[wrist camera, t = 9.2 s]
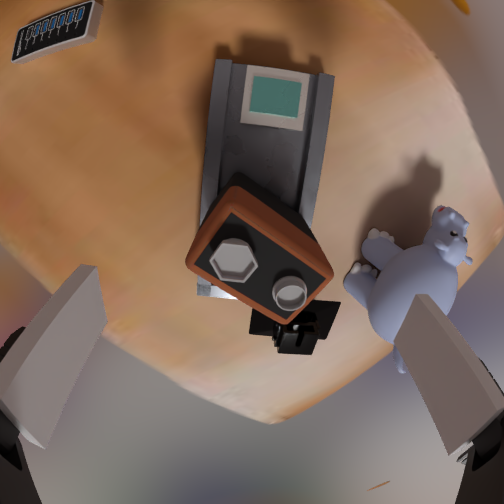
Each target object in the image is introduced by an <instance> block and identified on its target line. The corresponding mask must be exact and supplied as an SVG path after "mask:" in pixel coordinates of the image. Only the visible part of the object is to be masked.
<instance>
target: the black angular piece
mask: <svg viewBox="0 0 504 504" xmlns="http://www.w3.org/2000/svg"><path fill="white" fill-rule="evenodd" d="M340 304H341V302H335V301H321V300H312V301H311V302H310V303H309V304H308V305H307V306H306V307H305V308H304V309H303V310H302V311H301V312H300V313H299V314H298V315H297V316H296V317H295V318H294V319H293V320H292V321H290V322H289V323H288V324H281V323H279V322H277V321H275V320H273V319H271V318H269V317H268V316H266V315H264V314H262V313H261V312H259V311H257V310H255V309H254V308H252V315H251V322H250V329H249V334H253V335H264V336H272V340H273V341H274V347H277V352H278V353H283V354H302V355H312V353H313V350H314V348H315V345H316V342H317V340H318V339H323V340H325V339H326V338H327V336H328V333H329V331H330V329H331V326H332V324H333V322H334V319H335V317H336V314H337V312H338V309H339V307H340Z"/></svg>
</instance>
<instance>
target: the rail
mask: <svg viewBox="0 0 504 504" xmlns="http://www.w3.org/2000/svg"><path fill="white" fill-rule="evenodd" d="M334 78H335V76H333V75H329V74H324V73H318V74H317V75H313V74H308V73H303V72H297V71H292V70H286V69H279V68H272V67H264V66H256V65H246V64H234V63H233V61H232V60H226V59H216V62H215V69H214V76H213V83H212V91H211V99H210V108H209V117H208V126H207V136H206V146H205V157H204V169H203V182H202V196H201V212H200V225H201V223H202V221H203V219H204V217H205V215H206V213H207V211H208V209H209V208H210V206H211V205H212V203H213V202H214V200H215V199H216V198H217V196H218V195H219V193H220V192H221V191H222V189H223V188H224V186H225V185H226V184H227V182H228V181H229V180H230V178H231V177H232V176H233V174H234V173H236V172H242V173H243V174H245V175H246V176H248V177H249V178H251V179H252V180H253V181H255V182H256V183H258V184H259V185H260V186H262V187H263V188H265V189H266V190H267V191H269V192H270V193H271V194H273V195H274V196H276V197H277V198H278V199H280V200H281V201H282V202H284V203H285V204H286V205H288V206H289V207H290V208H292V209H293V210H294V211H296V212H297V213H298V214H300V215H301V216H302V217H303V218H304V219H305V221H306V223H307V224H308V226H309V228H310V229H311V224H312V219H313V213H314V208H315V203H316V197H317V192H318V186H319V181H320V175H321V169H322V163H323V157H324V151H325V144H326V138H327V131H328V124H329V117H330V110H331V102H332V95H333V86H334ZM197 295H200V296H209V297H219V298H229V299H237V298H235V297H233V296H232V295H230V294H228V293H227V292H225V291H223V290H222V289H220V288H218V287H217V286H215V285H213V284H212V283H210V282H208V281H207V280H205V279H204V278H202V277H200V276H199V275H198V282H197Z"/></svg>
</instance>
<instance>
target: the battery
mask: <svg viewBox="0 0 504 504" xmlns="http://www.w3.org/2000/svg"><path fill="white" fill-rule="evenodd" d="M185 263H186V266H187V268H188V269H190V270H191V271H192V272H194V273H196V274H197V275H199V276H200V277H202V278H204V279H205V280H207V281H208V282H210V283H212V284H213V285H215V286H217V287H218V288H220V289H222V290H223V291H225V292H227V293H228V294H230V295H232V296H233V297H235V298H237V299H238V300H240V301H242V302H243V303H245V304H247V305H249V306H250V307H252V308H254V309H255V310H257V311H259V312H261V313H262V314H264V315H266V316H268V317H269V318H271V319H273V320H275V321H277V322H279V323H281V324H288V323H289V322H290V321H292V320H293V319H294V318H295V317H296V316H297V315H298V314H299V313H300V312H301V311H302V310H303V309H304V308H305V307H306V306H307V305H308V304H309V303H310V302H311V301H312V300H313V299H314V298H315V296H316V295H317V294H318V293H319V292H320V291H321V290H322V289H323V288H324V287H325V286H326V285H327V284H328V283H329V282H330V281H331V280H332V278H333V277H334V272H333V269H332V267H331V265H330V263H329V262H328V260H327V258H326V256H325V254H324V253H323V251H322V249H321V247H320V245H319V244H318V242H317V240H316V238H315V237H314V235H313V233H312V231H311V230H310V228H309V226H308V224H307V223H306V221H305V219H304V218H303V217H302V216H301V215H300V214H298V213H297V212H296V211H294V210H293V209H292V208H290V207H289V206H288V205H286V204H285V203H284V202H282V201H281V200H280V199H278V198H277V197H276V196H274V195H273V194H271V193H270V192H269V191H267V190H266V189H265V188H263V187H262V186H260V185H259V184H258V183H256V182H255V181H253V180H252V179H251V178H249V177H248V176H246V175H245V174H243V173H242V172H236V173H234V174H233V176H232V177H231V178H230V180H229V181H228V182H227V184H226V185H225V186H224V188H223V189H222V191H221V192H220V193H219V195H218V196H217V198H216V199H215V200H214V202H213V203H212V205H211V206H210V208H209V209H208V211H207V213H206V215H205V217H204V219H203V221H202V223H201V225H200V228H199V230H198V232H197V234H196V236H195V239H194V241H193V243H192V245H191V248H190V250H189V252H188V254H187V257H186V260H185Z"/></svg>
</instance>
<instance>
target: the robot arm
mask: <svg viewBox="0 0 504 504" xmlns="http://www.w3.org/2000/svg"><path fill="white" fill-rule="evenodd" d="M107 322H108V321H107V317H106V312H105V307H104V303H103V298H102V293H101V287H100V282H99V276H98V270H97V266H91V265H84V264H81V265H80V266H79V267H78V268H77V269H76V270H75V271H74V272H73V273H72V274H71V276H70V277H69V278H68V279H67V280H66V281H65V282H64V283H63V284H62V285H61V287H60V288H59V289H58V290H57V291H56V292H55V293H54V294H53V296H52V297H51V298H50V299H49V300H48V302H47V303H46V304H45V305H44V306H43V307H42V309H41V310H40V311H39V312H38V313H37V315H36V316H35V317H34V318H33V320H32V321H31V322H30V323H29V325H28V326H27V327H21V328H19V329H18V330H16V331H15V332H14V333H12V334H11V335H10V337H9V338H8V339H7V340H6V342H5V343H4V346H3V347H1V349H0V504H42V502H41V500H40V498H39V496H38V493H37V490H36V488H35V485H34V482H33V480H32V477H31V474H30V471H29V468H28V465H27V462H26V459H25V456H24V452H23V448H22V445H21V443H20V440H19V438H18V435H19V433H20V432H21V434H22V435H23V436H24V437H25V438H26V439H27V440H28V441H30V442H32V443H34V444H36V445H38V446H39V447H41V448H44V449H47V446H48V444H49V441H50V439H51V436H52V433H53V431H54V429H55V426H56V424H57V422H58V419H59V417H60V415H61V412H62V410H63V407H64V406H65V403H66V401H67V399H68V397H69V395H70V393H71V390H72V388H73V386H74V384H75V382H76V380H77V378H78V376H79V374H80V372H81V370H82V368H83V366H84V364H85V362H86V360H87V358H88V356H89V354H90V353H91V351H92V349H93V347H94V345H95V343H96V341H97V340H98V338H99V336H100V334H101V332H102V331H103V329H104V327H105V325H106V324H107ZM393 342H394V344H395V346H396V347H397V349H398V351H399V353H400V355H401V357H402V358H403V360H404V362H405V364H406V366H407V368H408V370H409V372H410V374H411V375H412V377H413V379H414V381H415V383H416V385H417V387H418V389H419V391H420V393H421V395H422V397H423V399H424V401H425V404H426V405H427V408H428V410H429V412H430V414H431V416H432V418H433V421H434V423H435V425H436V427H437V429H438V431H439V434H440V436H441V438H442V441H443V443H444V446H445V448H446V450H447V453H448V455H451V454H454V453H456V452H458V451H460V450H462V449H463V448H464V447H465V446H467V445H468V444H469V443H470V442H471V441H472V442H473V444H474V445H473V446H471V447H470V448H469V449H468V450H467V451H465V452H464V453H463V454H462V455H460V457H458V459H457V462H460V461H461V460H462V459H463V458H465V457H466V456H467V458H465V459H464V460H463V461H462V462H461V463H462V464H464V465H466V466H465V470H464V474H463V478H462V482H461V485H460V489H459V492H458V495H457V498H456V502H455V504H504V393H503V391H502V390H501V388H500V387H499V385H498V384H497V382H496V381H495V379H493V376H492V375H491V373H490V372H488V369H487V367H486V366H485V364H484V363H483V361H482V360H480V359H479V358H478V357H477V356H476V354H475V353H474V351H473V350H472V349H471V347H470V346H469V345H468V343H467V342H466V341H465V340H464V338H463V337H462V335H461V334H460V333H459V331H458V330H457V329H456V328H455V326H454V325H453V324H452V323H451V321H450V320H449V319H448V318H447V316H446V315H445V314H444V313H443V311H442V310H441V309H440V308H439V307H438V305H437V304H436V303H435V302H434V301H433V299H432V298H431V297H430V296H429V295H428V294H415V297H414V299H413V301H412V303H411V306H410V308H409V310H408V312H407V314H406V316H405V319H404V321H403V323H402V325H401V327H400V329H399V331H398V333H397V335H396V337H395V339H394V341H393Z"/></svg>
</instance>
